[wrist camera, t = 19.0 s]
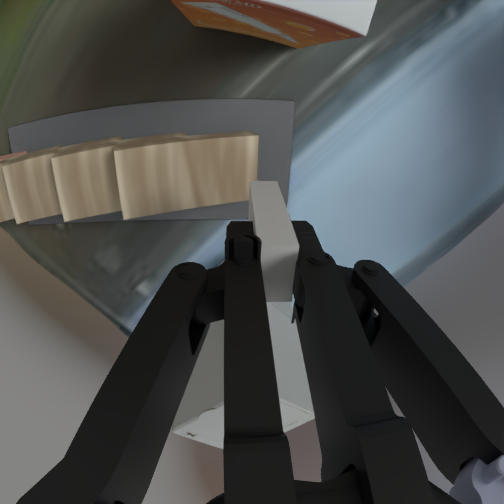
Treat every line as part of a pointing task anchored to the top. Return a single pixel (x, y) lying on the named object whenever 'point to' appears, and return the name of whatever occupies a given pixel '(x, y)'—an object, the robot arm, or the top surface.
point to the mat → (166, 122)
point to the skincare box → (212, 381)
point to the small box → (283, 18)
